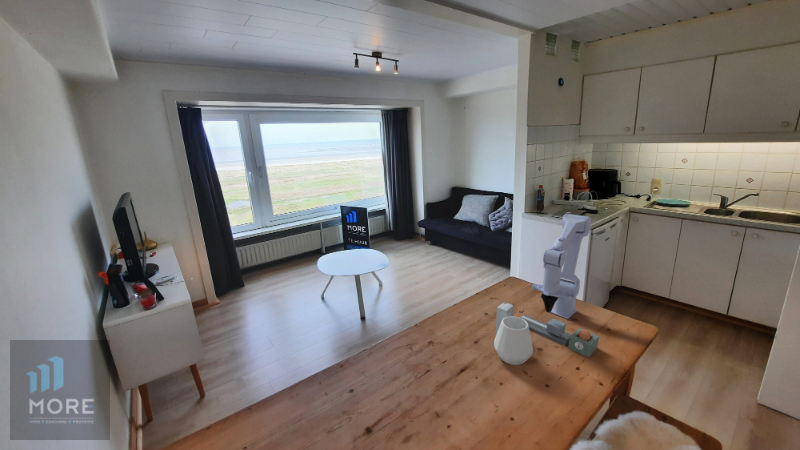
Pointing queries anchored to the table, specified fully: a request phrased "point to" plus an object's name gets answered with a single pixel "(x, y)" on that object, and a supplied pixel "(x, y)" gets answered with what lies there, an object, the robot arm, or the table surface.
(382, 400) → the table surface
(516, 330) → the cup
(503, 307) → the skincare box
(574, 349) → the cabinet
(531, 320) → the rail base
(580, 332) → the button
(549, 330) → the carriage
